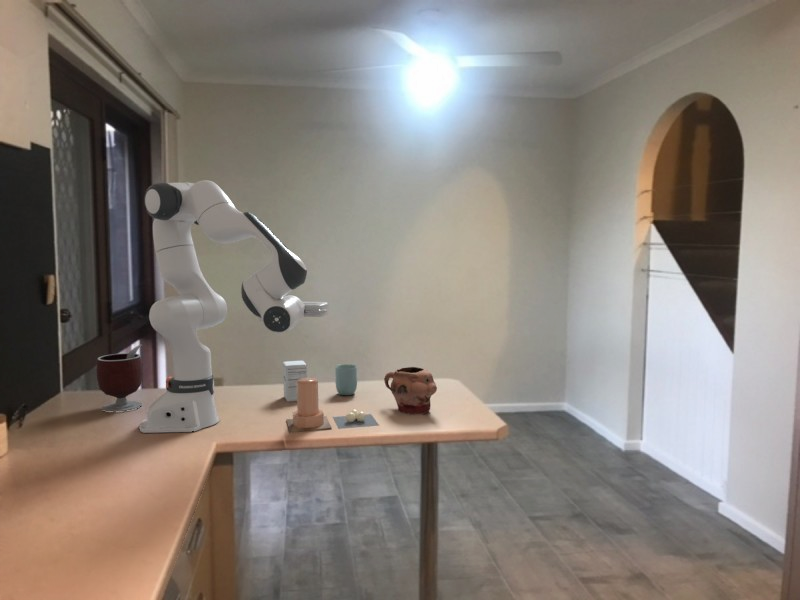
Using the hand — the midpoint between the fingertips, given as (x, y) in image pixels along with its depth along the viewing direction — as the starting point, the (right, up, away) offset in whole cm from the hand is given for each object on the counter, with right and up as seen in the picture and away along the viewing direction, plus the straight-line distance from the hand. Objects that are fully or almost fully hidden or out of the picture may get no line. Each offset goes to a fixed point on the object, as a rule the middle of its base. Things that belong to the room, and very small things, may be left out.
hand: (298, 305), depth 192 cm
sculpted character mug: (+34, -34, +10) cm, 49 cm away
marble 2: (+16, -35, -4) cm, 39 cm away
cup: (+12, -32, +32) cm, 47 cm away
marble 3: (+19, -35, -3) cm, 40 cm away
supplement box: (-5, -33, +27) cm, 43 cm away
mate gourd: (-60, -34, +17) cm, 71 cm away
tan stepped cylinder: (+4, -35, -6) cm, 36 cm away
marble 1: (+17, -35, -1) cm, 39 cm away
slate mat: (+18, -35, -2) cm, 40 cm away
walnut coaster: (+4, -36, -6) cm, 36 cm away
